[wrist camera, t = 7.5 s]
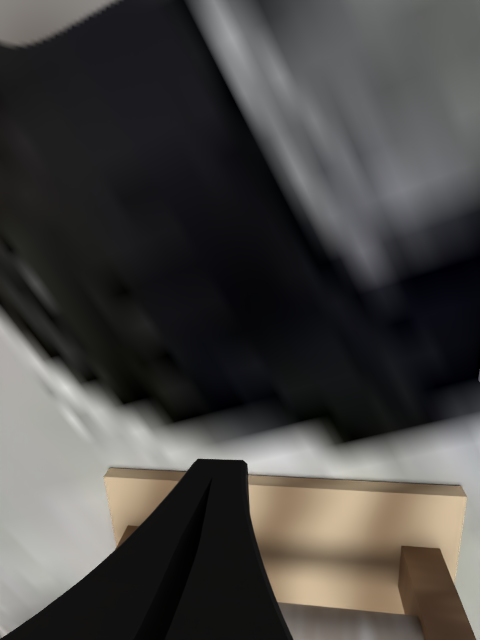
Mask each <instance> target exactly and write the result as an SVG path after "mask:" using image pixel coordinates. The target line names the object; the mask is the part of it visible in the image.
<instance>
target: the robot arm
mask: <svg viewBox="0 0 480 640" xmlns="http://www.w3.org/2000/svg"><path fill="white" fill-rule="evenodd" d="M479 382H480V371H479ZM0 640H294V639H293V637H292V635H291V633H290V631H289V628H288V626H287V624H286V622H285V619H284V617H283V615H282V612H281V610H280V607H279V605H278V602H277V600H276V597H275V595H274V592H273V590H272V587H271V584H270V581H269V578H268V576H267V573H266V570H265V567H264V564H263V561H262V558H261V554H260V551H259V548H258V544H257V541H256V537H255V533H254V529H253V525H252V520H251V516H250V503H249V485H248V467H247V463H245V462H244V461H243V460H219V459H197V460H196V461H195V462H194V463H193V465H192V466H191V467H190V468H189V470H188V471H187V472H186V473H185V475H184V476H183V477H182V478H181V479H180V481H179V482H178V483H177V484H176V486H175V487H174V488H173V489H172V490H171V491H170V493H169V494H168V495H167V496H166V497H165V498H164V500H163V501H162V502H161V503H160V504H159V505H158V506H157V507H156V509H155V510H154V511H153V512H152V513H151V514H150V515H149V516H148V517H147V519H146V520H145V521H144V522H143V523H142V524H141V525H140V526H139V527H138V528H137V529H136V530H135V531H134V532H133V533H132V534H131V535H130V536H129V537H128V538H127V539H126V540H125V541H124V542H123V543H122V544H121V545H120V546H119V547H118V548H117V549H116V550H115V551H114V552H113V553H111V554H110V555H109V556H108V557H107V558H106V559H105V560H104V561H103V562H102V563H100V564H99V565H98V566H97V567H96V568H95V569H94V570H92V571H91V572H90V573H89V574H88V575H87V576H85V577H84V578H83V579H82V580H80V581H79V582H78V583H77V584H76V585H74V586H73V587H72V588H70V589H69V590H68V591H66V592H65V593H64V594H63V595H61V596H60V597H59V598H57V599H56V600H55V601H53V602H52V603H51V604H50V605H48V606H47V607H46V608H44V609H43V610H42V611H40V612H39V613H38V614H36V615H35V616H33V617H32V618H30V619H29V620H28V621H26V622H25V623H23V624H22V625H20V626H19V627H17V628H16V629H15V630H13V631H12V632H10V633H9V634H7V635H6V636H4V637H3V638H1V639H0Z"/></svg>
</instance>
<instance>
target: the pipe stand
mask: <svg viewBox="0 0 480 640" xmlns="http://www.w3.org/2000/svg"><path fill="white" fill-rule="evenodd" d="M185 473H186V472H178V471H159V470H139V469H120V468H109V470H108V471H107V473H106V474H105V476H104V481H105V487H106V492H107V497H108V503H109V508H110V514H111V519H112V524H113V530H114V535H115V541H116V546H117V547H116V549H117V548H118V547H119V546H120V545H121V544H122V543H123V542H124V541H125V540H126V539H127V538H128V537H129V536H130V535H131V534H132V533H133V532H134V531H135V530H136V529H137V528H138V527H139V526H140V525H141V524H142V523H143V522H144V521H145V520H146V519H147V517H148V516H149V515H150V514H151V513H152V512H153V511H154V510H155V509H156V507H157V506H158V505H159V504H160V503H161V502H162V501H163V500H164V498H165V497H166V496H167V495H168V494H169V493H170V491H171V490H172V489H173V488H174V487H175V486H176V484H177V483H178V482H179V481H180V479H181V478H182V477H183V476H184V475H185ZM248 485H249V503H250V516H251V520H252V525H253V529H254V533H255V537H256V541H257V544H258V548H259V551H260V554H261V558H262V561H263V564H264V567H265V570H266V573H267V576H268V578H269V581H270V584H271V587H272V590H273V592H274V595H275V597H276V600H277V602H278V605H279V607H280V610H281V612H282V615H283V617H284V619H285V622H286V624H287V626H288V628H289V631H290V633H291V635H292V637H293V639H294V640H476V638H475V636H474V633H473V631H472V628H471V626H470V623H469V620H468V618H467V615H466V613H465V610H464V608H463V605H462V603H461V600H460V598H459V595H458V593H457V590H456V588H455V585H454V584H455V577H456V571H457V564H458V557H459V550H460V543H461V536H462V529H463V522H464V515H465V508H466V501H467V496H466V494H465V492H464V490H463V489H462V487H461V486H450V485H431V484H411V483H392V482H372V481H353V480H334V479H314V478H295V477H275V476H256V475H248ZM116 549H115V550H116Z"/></svg>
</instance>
